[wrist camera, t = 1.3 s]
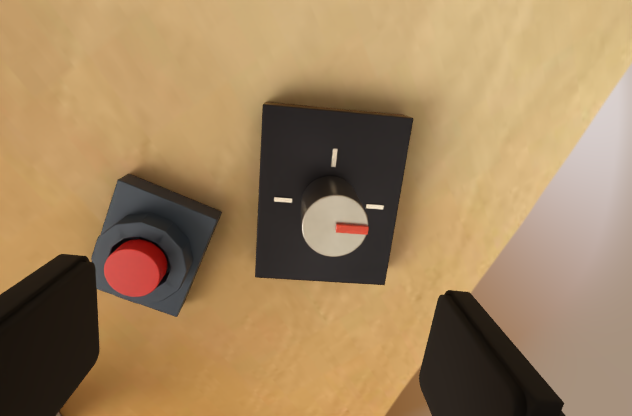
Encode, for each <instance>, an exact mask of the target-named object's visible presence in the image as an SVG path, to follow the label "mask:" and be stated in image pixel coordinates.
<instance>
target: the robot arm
mask: <svg viewBox="0 0 632 416" xmlns="http://www.w3.org/2000/svg"><path fill="white" fill-rule="evenodd" d="M98 355H99V329H98V309H97V288H96V268H95V265H94V263H93V262H89V259H88V258H87V257H86V256H78V255H67V254H61V255H58V256H57V257H55V258H54V259H53V260H51V261H50V262H48V263H47V264H45V265H44V266H42V267H41V268H39V269H38V270H36V271H35V272H33V273H32V274H30V275H29V276H27V277H26V278H24V279H23V280H21V281H20V282H18V283H17V284H16V285H14V286H13V287H11V288H10V289H8V290H7V291H5V292H4V293H2V294H1V295H0V416H56V415H57V413H58V412H59V411H60V409H61V408H62V407H63V405H64V404H65V403H66V401H67V400H68V399H69V397H70V396H71V395H72V393H73V392H74V391H75V390H76V388H77V387H78V386H79V384H80V383H81V382H82V380H83V379H84V378H85V376H86V375H87V374H88V372H89V371H90V370H91V368H92V367H93V366H94V364H95V363H96V361H97V358H98ZM419 382H420V387H421V390H422V392H423V395H424V397H425V399H426V402H427V404H428V407H429V409H430V411H431V414H432V416H565V415H564V413H563V412H562V411H561V410H562V407H563V405H564V403H563V401H562V400H561V399H560V398H559V397H558V395H557V394H556V393H555V392H554V391H553V390H552V388H551V387H550V386H549V385H548V384H547V382H546V381H545V380H544V379H543V378H542V377H541V375H539V373H538V372H537V371H536V370H535V369H534V367H533V366H532V365H531V364H530V363H529V361H528V360H527V359H526V358H525V357H524V355H523V354H522V353H521V352H520V351H519V350H518V349H517V347H516V346H515V345H514V344H513V343H512V342H511V340H510V339H509V338H508V337H507V336H506V335H505V333H504V332H503V331H502V330H501V329H500V327H499V326H498V325H497V324H496V323H495V322H494V320H493V319H492V318H491V317H490V316H489V314H488V313H487V312H486V311H485V310H484V309H483V307H482V306H481V305H480V304H479V303H478V302H477V300H476V299H475V298H474V297H473V296H472V295H471V294H470V293H469V292H462V291H451V290H448V291H446V293H445V295H440V296H439V298H438V301H437V305H436V309H435V313H434V317H433V321H432V325H431V330H430V334H429V338H428V342H427V346H426V350H425V354H424V358H423V362H422V366H421V370H420V375H419Z"/></svg>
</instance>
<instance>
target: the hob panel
mask: <svg viewBox="0 0 632 416" xmlns="http://www.w3.org/2000/svg"><path fill="white" fill-rule="evenodd" d="M412 123H413V118H411V117H409V116H406V115H399V114H389V113H378V112H367V111H356V110H346V109H335V108H324V107H313V106H303V105H292V104H281V103H270V102H266V103H264V104H263V113H262V136H261V158H260V180H259V202H258V224H257V246H256V268H255V277H259V278H275V279H292V280H309V281H326V282H342V283H359V284H376V285H385V279H386V274H387V268H388V262H389V256H390V251H391V245H392V239H393V233H394V227H395V222H396V216H397V210H398V204H399V198H400V193H401V187H402V181H403V175H404V169H405V164H406V158H407V152H408V146H409V140H410V135H411V129H412ZM325 176H335V177H339V178H342V179H344V180H346V181H347V182H348V183H349V184H350V185H351V186H352V187H353V188H354V190H355V192H356V194H357V196H358V198H359V200H360V202H361V204H362V206H363V208H364V210H365V212H366V215H367V218H368V227H369V229H368V235H366V237H365V239H364V241H363V242H362V244H361V245H360V246H359V247H358V248H357V249H356V250H354V251H353V252H351V253H349V254H346V255H343V256H338V257H330V256H325V255H322V254H319V253H317V252H315V251H314V250H313V249H312V248H311V247H309V245H308V244H307V243H306V241H305V239H304V237H303V234H302V221H301V200H302V195H303V193H304V191H305V189H306V188H307V186H308V185H309V184H310V183H311V182H313V181H314V180H316V179H318V178H321V177H325Z"/></svg>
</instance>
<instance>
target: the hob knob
mask: <svg viewBox="0 0 632 416" xmlns="http://www.w3.org/2000/svg"><path fill="white" fill-rule="evenodd" d="M301 221H302V234H303V237H304V239H305V241H306V243H307V244H308V245H309V247H311V248H312V249H313V250H314V251H315V252H317V253H319V254H322V255H325V256H330V257H338V256H343V255H346V254H349V253H351V252H353V251H354V250H356V249H357V248H358V247H359V246H360V245H361V244H362V242H363V241H364V239H365V237H366V235H368V229H369V227H368V218H367V215H366V212H365V210H364V208H363V206H362V204H361V202H360V200H359V198H358V196H357V194H356V192H355V190H354V188H353V187H352V186H351V185H350V184H349V183H348V182H347V181H346V180H344V179H342V178H339V177H335V176H325V177H321V178H318V179H316V180H314V181H313V182H311V183H310V184H309V185H308V186H307V188H306V189H305V191H304V193H303V195H302V200H301Z"/></svg>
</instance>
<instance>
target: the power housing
mask: <svg viewBox="0 0 632 416" xmlns="http://www.w3.org/2000/svg"><path fill="white" fill-rule="evenodd" d="M221 213H222V212H221V211H219V210H216V209H214V208H211V207H209V206H207V205H204V204H202V203H199V202H197V201H194V200H192V199H189V198H187V197H185V196H182V195H180V194H177V193H175V192H172V191H170V190H168V189H165V188H163V187H160V186H158V185H155V184H153V183H151V182H148V181H146V180H143V179H141V178H138V177H136V176H133V175H131V174H127V175H126V176H124V177H122V178H120V179H118V181H117V184H116V187H115V191H114V194H113V197H112V200H111V203H110V206H109V209H108V213H107V216H106V219H105V222H104V225H103V228H102V231H101V235H100V236H99V237H98V239H97V242H96V245H95V248H94V251H93V255H92V258H91V259H92V262H93V263H94V265H95V268H96V288H97V289H98V290H101V291H104V292H107V293H110V294H113V295H115V296H117V297H120V298H123V299H126V300H129V301H131V302H134V303H138V304H141V305H144V306H147V307H150V308H153V309H155V310H158V311H161V312H164V313H167V314H170V315H173V316H175V317H177V316H178V314H179V312H180V310H181V308H182V306H183V304H184V302H185V300H186V297H187V295H188V292H189V290H190V288H191V285H192V283H193V280H194V278H195V276H196V273H197V271H198V268H199V266H200V264H201V261H202V259H203V256H204V254H205V252H206V249H207V247H208V244H209V242H210V240H211V237H212V235H213V232H214V230H215V228H216V225H217V223H218V220H219V218H220V216H221ZM134 239H141V240H146V241H149V242H151V243H153V244H155V245H156V246H158V247H159V248H160V249H161V250H162V252H163V253H164V255H165V257H166V260H167V271H166V274H165V275H164V277H163V278H162V280H161V281H160V283H159V284H158V286H157V287H156V288H155V290H154V291H152V292H151V293H149V294H147V295H145V296H140V297H130V296H126V295H123V294H121V293H119V292H117V291H116V290H114V289H113V288H112V287H111V286H110V285H109V283H108V282H107V280H106V278H105V275H104V265H105V262H106V260H107V258H108V257H109V256H110V255H111V254H112V253H113V252H114V251H115V250H116V249H117V248H118V247H119V246H120V245H122V244H123V243H124V242H127V241H129V240H134Z"/></svg>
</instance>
